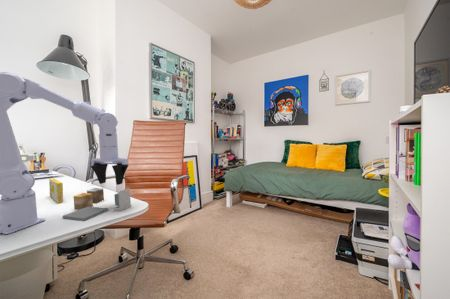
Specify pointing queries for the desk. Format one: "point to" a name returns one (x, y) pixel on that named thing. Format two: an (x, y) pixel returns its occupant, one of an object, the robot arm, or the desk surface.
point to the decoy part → (96, 194)
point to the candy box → (56, 190)
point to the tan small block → (83, 201)
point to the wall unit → (122, 200)
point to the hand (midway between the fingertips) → (110, 183)
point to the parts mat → (85, 213)
